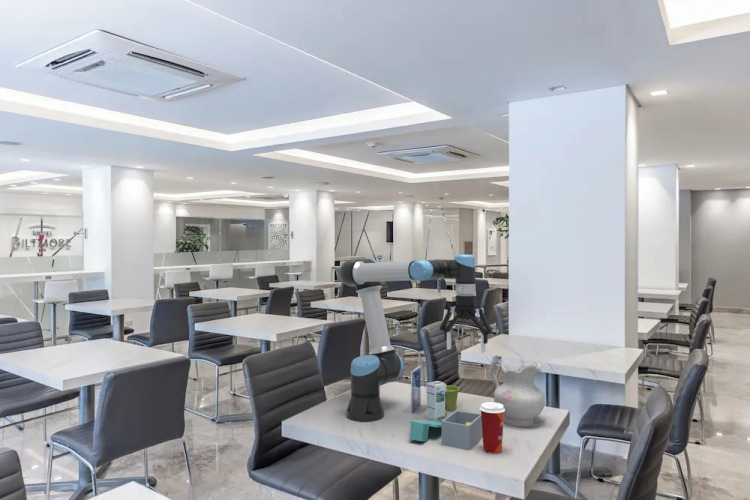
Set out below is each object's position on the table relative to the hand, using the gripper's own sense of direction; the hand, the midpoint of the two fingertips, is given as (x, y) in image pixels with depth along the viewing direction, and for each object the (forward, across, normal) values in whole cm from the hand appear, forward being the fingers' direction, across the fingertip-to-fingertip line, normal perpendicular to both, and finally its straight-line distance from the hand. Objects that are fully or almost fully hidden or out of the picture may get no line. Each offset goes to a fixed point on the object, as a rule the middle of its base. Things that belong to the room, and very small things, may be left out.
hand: (465, 350), depth 194 cm
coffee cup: (+29, +16, -18) cm, 37 cm away
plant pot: (+29, -14, +17) cm, 36 cm away
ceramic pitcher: (+29, +15, +15) cm, 36 cm away
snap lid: (+30, -9, -15) cm, 35 cm away
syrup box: (+29, -13, +2) cm, 32 cm away
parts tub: (+29, +4, -15) cm, 33 cm away
